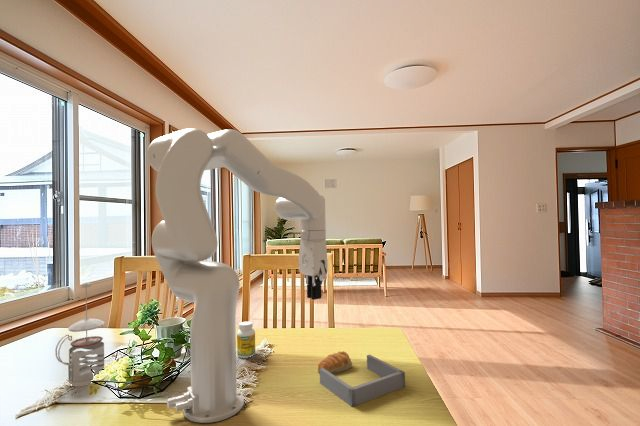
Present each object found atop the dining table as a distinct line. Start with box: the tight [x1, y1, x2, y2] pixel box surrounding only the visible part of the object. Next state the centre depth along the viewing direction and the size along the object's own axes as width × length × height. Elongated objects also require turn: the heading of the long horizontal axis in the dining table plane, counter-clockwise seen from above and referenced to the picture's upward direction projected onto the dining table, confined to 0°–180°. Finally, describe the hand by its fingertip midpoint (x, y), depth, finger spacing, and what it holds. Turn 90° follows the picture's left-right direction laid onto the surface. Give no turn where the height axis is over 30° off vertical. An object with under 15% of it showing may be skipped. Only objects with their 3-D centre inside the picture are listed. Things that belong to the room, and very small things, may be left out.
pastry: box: [317, 350, 353, 374], centre depth 95 cm, size 9×7×4 cm
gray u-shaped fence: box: [319, 354, 406, 407], centre depth 85 cm, size 16×13×4 cm
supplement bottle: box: [236, 321, 256, 359], centre depth 105 cm, size 5×5×10 cm
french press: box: [54, 282, 106, 388], centre depth 91 cm, size 10×12×25 cm
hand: (314, 297), depth 104 cm, fingers closed
